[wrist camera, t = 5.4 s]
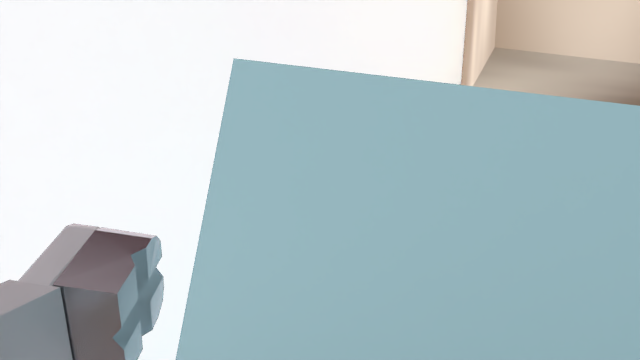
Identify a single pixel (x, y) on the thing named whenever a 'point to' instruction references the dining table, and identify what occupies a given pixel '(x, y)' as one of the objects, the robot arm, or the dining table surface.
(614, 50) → the plinth
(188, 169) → the dining table surface
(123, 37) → the dining table surface
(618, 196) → the teal block
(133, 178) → the dining table surface
